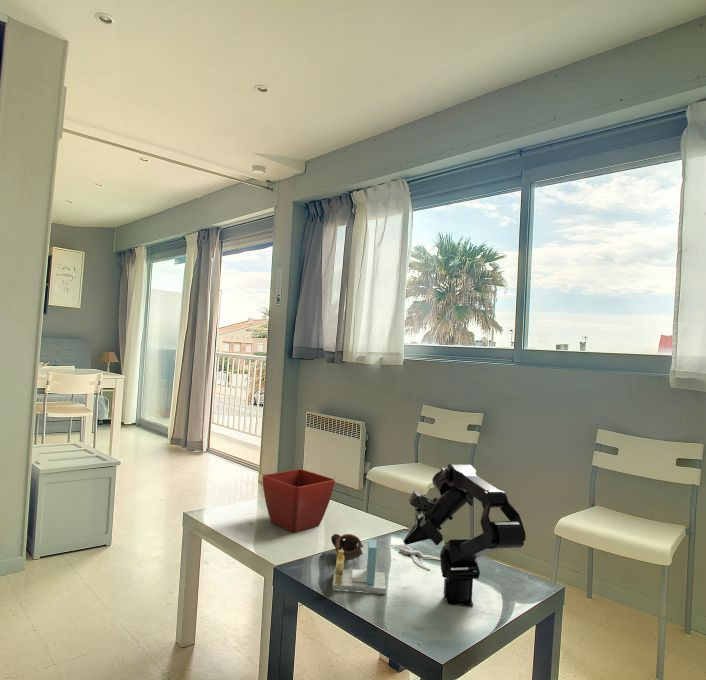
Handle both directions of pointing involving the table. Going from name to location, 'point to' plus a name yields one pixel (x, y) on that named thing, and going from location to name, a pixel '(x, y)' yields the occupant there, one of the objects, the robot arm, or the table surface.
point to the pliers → (415, 552)
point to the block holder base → (345, 582)
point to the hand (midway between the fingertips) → (404, 543)
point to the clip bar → (371, 563)
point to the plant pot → (297, 498)
